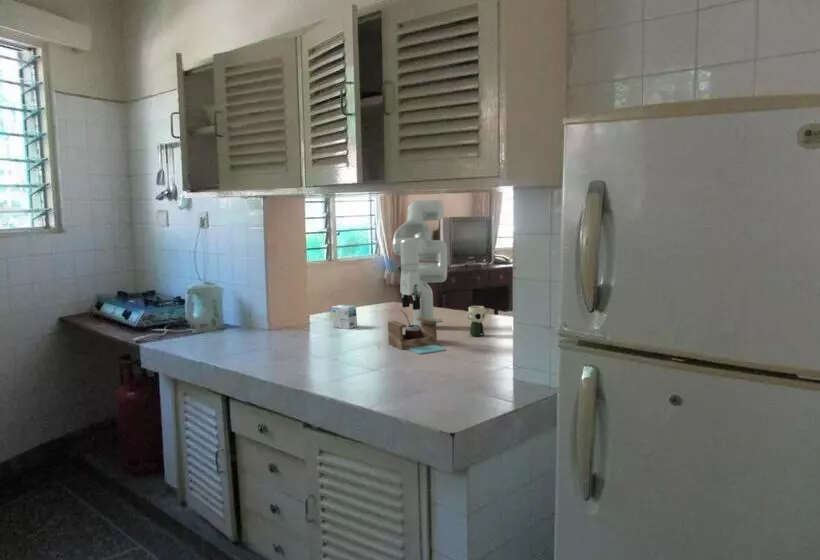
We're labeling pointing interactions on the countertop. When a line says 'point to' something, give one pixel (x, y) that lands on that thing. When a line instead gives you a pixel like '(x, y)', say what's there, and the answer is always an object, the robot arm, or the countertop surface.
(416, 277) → the robot arm
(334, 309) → the light bulb box
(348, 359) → the countertop surface
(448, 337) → the countertop surface
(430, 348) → the teal mat
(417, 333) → the mate gourd
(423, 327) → the walnut box
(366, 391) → the countertop surface
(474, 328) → the character mug
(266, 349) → the countertop surface
